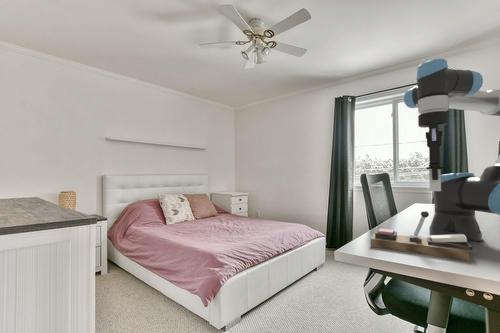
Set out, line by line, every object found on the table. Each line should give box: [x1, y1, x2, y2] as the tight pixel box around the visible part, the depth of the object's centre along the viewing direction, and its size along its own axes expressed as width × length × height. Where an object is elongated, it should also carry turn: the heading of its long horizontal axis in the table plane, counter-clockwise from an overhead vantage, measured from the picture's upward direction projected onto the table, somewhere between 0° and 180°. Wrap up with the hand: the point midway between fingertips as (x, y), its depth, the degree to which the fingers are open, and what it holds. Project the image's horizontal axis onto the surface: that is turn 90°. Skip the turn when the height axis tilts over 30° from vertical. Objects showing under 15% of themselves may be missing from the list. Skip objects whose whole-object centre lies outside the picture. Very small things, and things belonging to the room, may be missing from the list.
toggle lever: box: [413, 210, 430, 237], centre depth 77 cm, size 2×2×8 cm
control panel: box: [370, 229, 473, 262], centre depth 78 cm, size 25×10×4 cm, turn 57°
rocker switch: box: [430, 234, 468, 242], centre depth 73 cm, size 8×4×1 cm, turn 57°
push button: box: [378, 228, 394, 235], centre depth 82 cm, size 4×4×2 cm
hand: (435, 190), depth 75 cm, fingers closed
